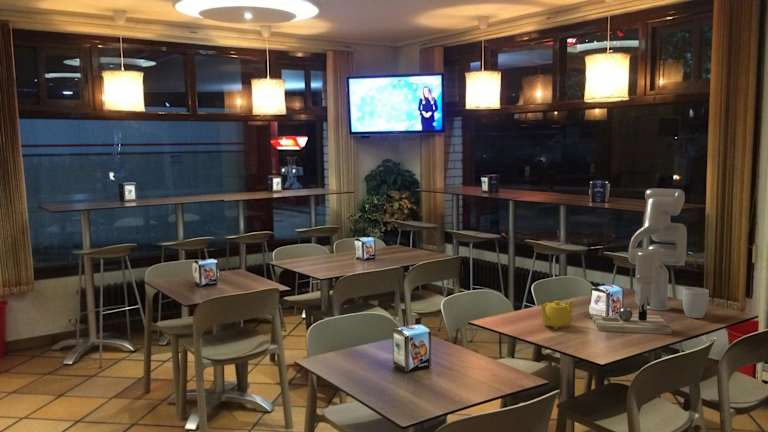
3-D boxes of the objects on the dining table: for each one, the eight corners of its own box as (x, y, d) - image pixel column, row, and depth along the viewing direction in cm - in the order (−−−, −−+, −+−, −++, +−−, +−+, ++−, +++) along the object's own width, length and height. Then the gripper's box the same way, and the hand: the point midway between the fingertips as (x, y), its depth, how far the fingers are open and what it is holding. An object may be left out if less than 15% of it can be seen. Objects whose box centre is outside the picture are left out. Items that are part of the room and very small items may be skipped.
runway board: (591, 318, 304) (591, 313, 304) (659, 321, 300) (659, 315, 299) (598, 330, 284) (598, 325, 284) (671, 333, 280) (671, 328, 280)
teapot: (559, 318, 303) (560, 294, 302) (583, 326, 291) (584, 301, 289) (526, 324, 293) (527, 299, 292) (550, 333, 281) (551, 307, 279)
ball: (631, 308, 294) (625, 320, 295) (620, 303, 293) (613, 315, 294) (637, 312, 288) (630, 324, 289) (625, 307, 287) (618, 319, 288)
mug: (692, 311, 317) (693, 284, 316) (715, 315, 309) (717, 288, 307) (677, 316, 308) (678, 289, 306) (700, 321, 299) (702, 293, 298)
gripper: (631, 275, 296) (629, 315, 298) (639, 282, 281) (637, 324, 283) (649, 276, 295) (647, 315, 297) (657, 283, 280) (655, 325, 282)
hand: (642, 320), depth 290 cm, fingers closed
